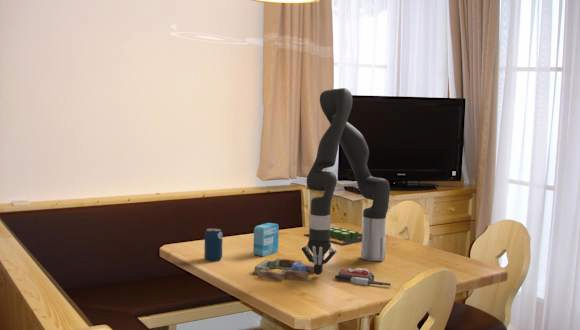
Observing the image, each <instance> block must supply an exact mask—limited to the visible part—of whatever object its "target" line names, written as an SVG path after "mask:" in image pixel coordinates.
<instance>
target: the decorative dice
mask: <svg viewBox="0 0 580 330" xmlns="http://www.w3.org/2000/svg"><path fill="white" fill-rule="evenodd" d="M304 264H305V263H303V262H301V263H294V264H293V265H292V267H291V270H293V271H301V272H306V266H305V265H306V264H305V265H304Z"/></svg>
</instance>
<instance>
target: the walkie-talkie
mask: <svg viewBox="0 0 580 330" xmlns="http://www.w3.org/2000/svg"><path fill="white" fill-rule="evenodd" d="M334 278H335V279H337V280H338V281H340V282H341V281H342V282H349V283H353V284H355V285H361V286H362V285H363V286H368V285H375V286H388V287H390V286H392V285H391V283H389V282H382V281H375V274H373V272H372V271H371V272H370V270H369V268H360V267H356V268H354V269H352V268H351V267H348V269H346V268H341V269H340V270H339V271H338V274H336V275H335V276H334Z"/></svg>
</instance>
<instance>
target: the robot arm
mask: <svg viewBox="0 0 580 330" xmlns="http://www.w3.org/2000/svg"><path fill="white" fill-rule="evenodd" d="M319 95H320V96H319V104H320V108H321V110H322V112H323V114H324V115H325V118H326V120H327V121H328V123H329V125H330V126H329V127H327V130H326V131H325V132H324V134H323V135H322V137H321V138H320V140H319V144H318V148H317V153H316V158H315V160H314V162H313V163H312V166H311V168H310V170H309V171H308V174H307V176H306V186H307V188H308V189H309V190H311V191H319V192H324V194H323V195H322V196H317V197H316V196H315V197H312V198H311V201H310V216H309V224H308V229H309V230H308V234H309V237H308V242H307V244H306V245H305V246H303V247H301V251H302V253H303V254H304V256H305V257H306V259H307V260H308V261H309V263H312V264H313V266H314V273H315V274H314V273H313V274H314V275H317V276H321V274H322V273H323V272H324V271H323V270H324V269H323V268H324V265H326V264H327V263H329V261H330V260H331V259H332V258H333V257H334V256H335V254H336V253H337V250H336V249H334V248H333V247H332V245H331V244H332V243H330V239H331V237H330V228H331V224H332V223H331V206H332V205H331V204H332V199H333V195H334V192H335V189H336V187H337V182H338V179H337V176H336V174H335V173H334V172H333V171H323V170H324V169H328V168H331V167H334V166H335V164H336V162H337V155H338V151H339V147H340V146H341V148H342V151H343V153H344V155H345V157H346V159H347V161H348V163H349V166H350V168H351V170H352V173H353V174H354V175H353V176H354V177H355V181H356V184H357V187H358V190H359V192H360V194H361V196H362V197H363V198H364V199H367V200H371V201H372V205H371V206H369V207H366V208H365V209H363V211H362V212H363V213H362V230H361V231H362V233H361V234H362V237H361V238H362V242H361V249H360V250H361V252H360V258H361V259H362V260H366V261H370V262H383V261H384V260H385V258H386V245H387V234H386V226H387V225H386V222H387V212H388V209H389V205H390V204H389V202H390V194H391V193H390V192H391V188H390V187H391V186H390V183H389V180H387V179H385V178H382V177H375V176H372V174H371V172H370V170H369V167H368V161H369V156H370V149H369V146H368V144H367V142H366V139H365V137H364V135H363V134H362V133H361V131H359V130H358V129H357V128H356V127H354V126H353V125H352V124H351V123H349V122H348V119H349V116H350V114H351V111H352V108H353V101H354V100H353V95H352V93H351V90H349V89H348V88H345V87H343V88H341V87H340V88H333V89H327V90H323V91H322V92H321V93H320V94H319ZM339 145H340V146H339ZM327 252H328V256H327V257H326V258H325V255H326V254H327Z"/></svg>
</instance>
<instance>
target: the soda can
mask: <svg viewBox="0 0 580 330" xmlns="http://www.w3.org/2000/svg"><path fill="white" fill-rule="evenodd" d="M223 238H224V237H223V232H222V229H221V228H217V227H211V228H210V227H209V228H206V230H205V232H204V252H203V253H204V255H203V256H204V258H205V260H206V261H207V262H219V261H221V260H222V259H223Z"/></svg>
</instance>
